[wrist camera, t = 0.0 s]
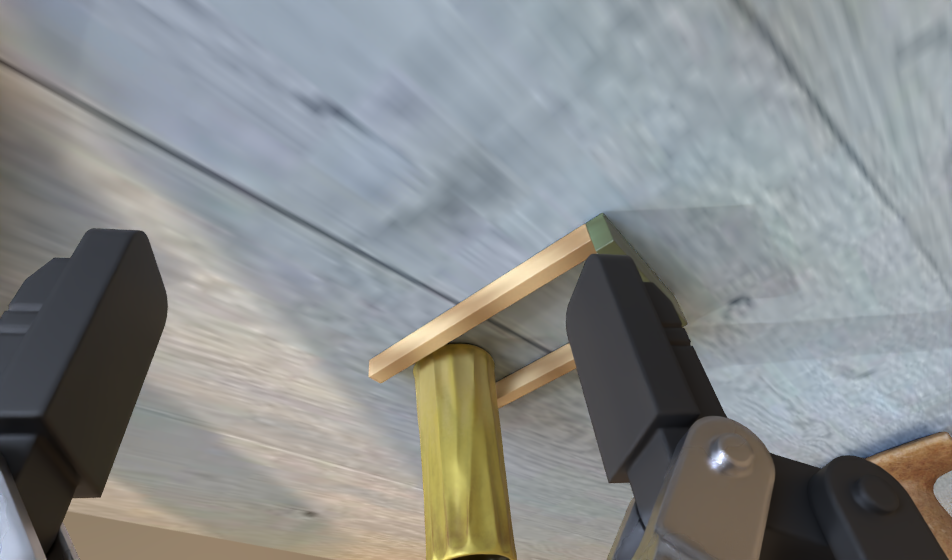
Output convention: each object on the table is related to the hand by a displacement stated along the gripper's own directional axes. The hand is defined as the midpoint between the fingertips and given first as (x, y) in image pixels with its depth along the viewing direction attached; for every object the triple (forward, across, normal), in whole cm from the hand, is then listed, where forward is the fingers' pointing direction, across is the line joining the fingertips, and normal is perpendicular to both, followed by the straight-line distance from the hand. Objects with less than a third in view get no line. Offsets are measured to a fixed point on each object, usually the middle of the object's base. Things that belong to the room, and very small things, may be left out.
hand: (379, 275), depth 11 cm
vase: (+17, -6, +26) cm, 32 cm away
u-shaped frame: (+17, -10, +22) cm, 30 cm away
